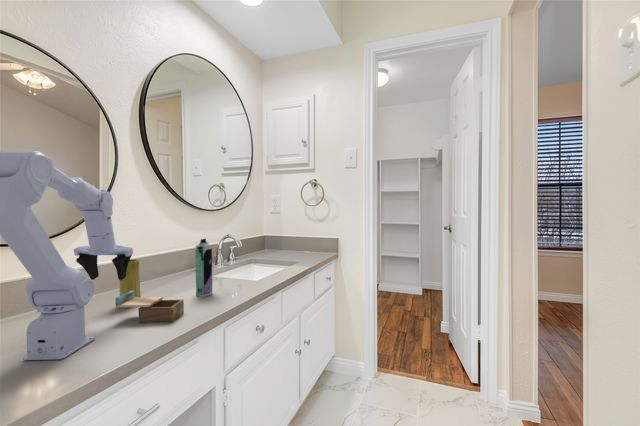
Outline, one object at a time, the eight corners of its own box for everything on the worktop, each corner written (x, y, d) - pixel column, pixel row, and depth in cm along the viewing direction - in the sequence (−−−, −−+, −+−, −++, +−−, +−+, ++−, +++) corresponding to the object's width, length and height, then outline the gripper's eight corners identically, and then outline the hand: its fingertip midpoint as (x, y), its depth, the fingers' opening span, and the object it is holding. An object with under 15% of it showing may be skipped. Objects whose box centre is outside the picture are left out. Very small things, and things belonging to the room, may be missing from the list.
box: (172, 322, 79) (172, 307, 79) (138, 323, 79) (138, 308, 79) (183, 313, 86) (183, 299, 86) (152, 313, 86) (152, 300, 86)
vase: (130, 308, 90) (129, 262, 90) (113, 307, 92) (112, 262, 91) (145, 302, 96) (145, 259, 96) (130, 301, 97) (129, 258, 97)
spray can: (212, 295, 103) (211, 239, 103) (195, 297, 101) (194, 239, 101) (212, 291, 108) (211, 237, 108) (196, 293, 106) (195, 238, 106)
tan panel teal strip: (149, 307, 79) (149, 297, 79) (115, 307, 79) (115, 298, 78) (162, 298, 86) (162, 290, 86) (131, 299, 86) (131, 290, 85)
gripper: (136, 228, 83) (142, 272, 87) (83, 227, 83) (92, 271, 86) (121, 237, 76) (128, 284, 80) (63, 236, 76) (74, 283, 80)
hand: (108, 278), depth 83 cm, fingers open, 7 cm apart
